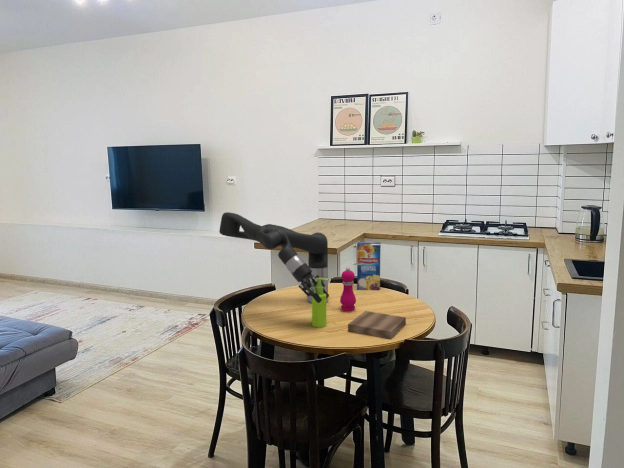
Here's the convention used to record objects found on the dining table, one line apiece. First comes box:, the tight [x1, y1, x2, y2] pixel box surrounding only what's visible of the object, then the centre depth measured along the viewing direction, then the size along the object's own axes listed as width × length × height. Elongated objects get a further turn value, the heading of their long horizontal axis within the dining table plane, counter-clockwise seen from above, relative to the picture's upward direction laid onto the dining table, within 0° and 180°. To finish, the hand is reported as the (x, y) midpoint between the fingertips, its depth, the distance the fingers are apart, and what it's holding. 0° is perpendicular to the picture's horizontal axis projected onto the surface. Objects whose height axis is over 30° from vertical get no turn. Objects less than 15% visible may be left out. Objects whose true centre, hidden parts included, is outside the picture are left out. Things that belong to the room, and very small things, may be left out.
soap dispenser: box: [311, 278, 330, 328], centre depth 192 cm, size 6×7×20 cm
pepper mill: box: [339, 266, 357, 313], centre depth 211 cm, size 7×7×20 cm
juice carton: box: [356, 241, 382, 291], centre depth 245 cm, size 12×8×24 cm, turn 83°
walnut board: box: [347, 310, 407, 340], centre depth 190 cm, size 18×18×3 cm
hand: (323, 299), depth 191 cm, fingers closed on soap dispenser, 6 cm apart
